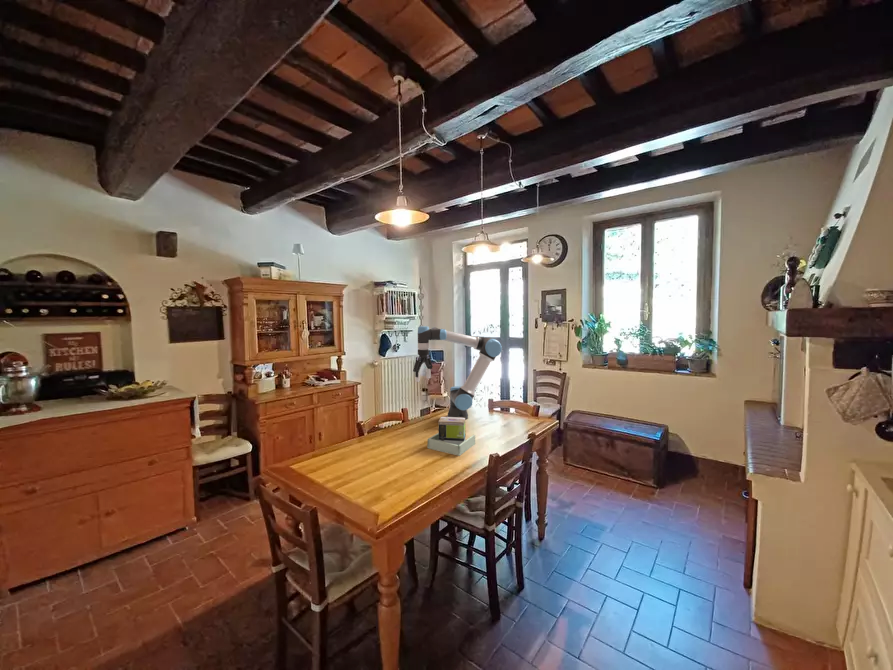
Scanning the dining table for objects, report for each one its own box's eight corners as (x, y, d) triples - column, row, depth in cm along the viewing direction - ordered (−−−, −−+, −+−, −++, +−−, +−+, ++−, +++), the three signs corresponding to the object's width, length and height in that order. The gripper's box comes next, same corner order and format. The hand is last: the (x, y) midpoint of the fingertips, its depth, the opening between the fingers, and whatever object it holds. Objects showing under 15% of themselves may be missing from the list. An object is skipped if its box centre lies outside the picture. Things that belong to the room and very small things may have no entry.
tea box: (465, 441, 219) (465, 417, 218) (463, 447, 209) (464, 422, 208) (441, 439, 221) (441, 415, 220) (438, 445, 211) (438, 421, 210)
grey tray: (444, 437, 228) (445, 428, 228) (475, 444, 218) (475, 435, 217) (427, 448, 211) (427, 439, 211) (459, 455, 201) (459, 446, 200)
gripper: (428, 346, 259) (428, 376, 261) (407, 350, 238) (407, 382, 240) (437, 347, 255) (437, 377, 257) (417, 351, 234) (417, 383, 236)
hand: (423, 379), depth 248 cm, fingers open, 13 cm apart
